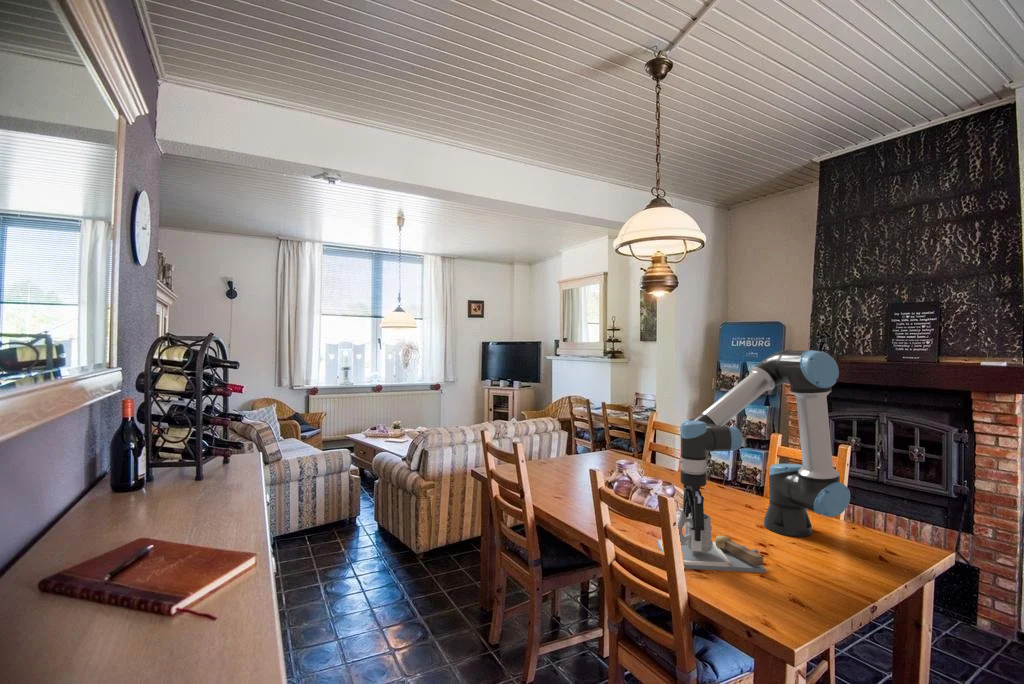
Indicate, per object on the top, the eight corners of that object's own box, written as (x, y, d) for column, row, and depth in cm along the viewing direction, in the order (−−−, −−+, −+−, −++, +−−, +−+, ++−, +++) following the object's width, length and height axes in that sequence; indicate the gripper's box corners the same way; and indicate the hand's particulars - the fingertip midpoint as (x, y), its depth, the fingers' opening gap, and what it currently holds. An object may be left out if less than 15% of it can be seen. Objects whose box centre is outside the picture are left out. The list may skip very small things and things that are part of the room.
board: (744, 549, 155) (745, 535, 155) (765, 572, 140) (766, 557, 140) (656, 545, 158) (656, 531, 158) (666, 567, 142) (667, 552, 142)
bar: (712, 544, 154) (712, 536, 154) (723, 542, 155) (723, 534, 155) (753, 566, 138) (754, 558, 138) (765, 564, 140) (765, 555, 140)
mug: (718, 551, 146) (718, 512, 146) (682, 555, 144) (682, 515, 144) (703, 541, 154) (703, 503, 154) (669, 544, 151) (669, 506, 151)
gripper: (673, 462, 160) (672, 531, 160) (689, 480, 140) (689, 558, 140) (696, 463, 159) (696, 532, 159) (716, 481, 139) (716, 560, 139)
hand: (692, 544), depth 149 cm, fingers open, 8 cm apart
